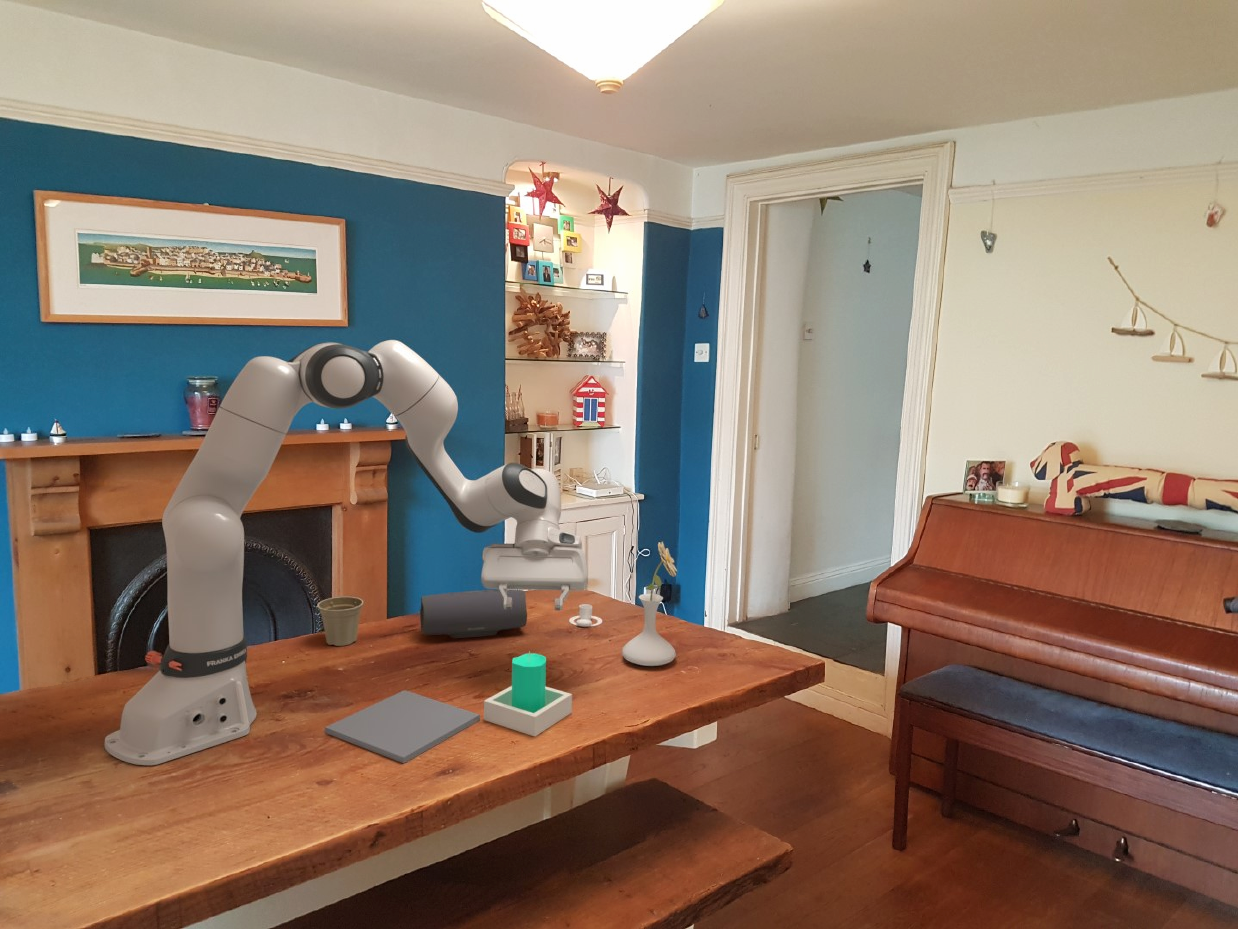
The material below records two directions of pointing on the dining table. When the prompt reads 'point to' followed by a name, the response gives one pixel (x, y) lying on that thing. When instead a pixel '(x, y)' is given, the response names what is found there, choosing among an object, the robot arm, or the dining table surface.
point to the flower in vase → (652, 625)
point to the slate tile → (402, 725)
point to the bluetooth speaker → (471, 613)
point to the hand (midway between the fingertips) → (533, 608)
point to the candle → (529, 682)
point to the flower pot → (340, 619)
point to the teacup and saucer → (585, 617)
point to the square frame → (524, 721)
